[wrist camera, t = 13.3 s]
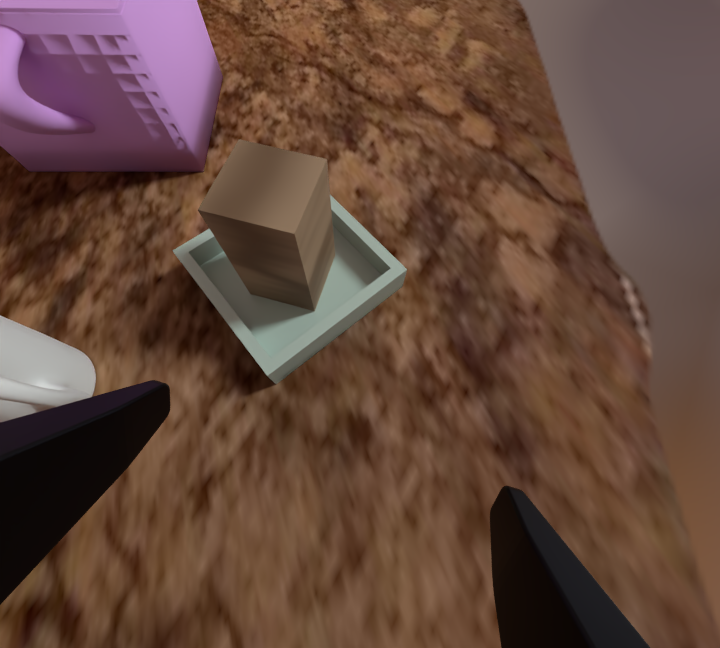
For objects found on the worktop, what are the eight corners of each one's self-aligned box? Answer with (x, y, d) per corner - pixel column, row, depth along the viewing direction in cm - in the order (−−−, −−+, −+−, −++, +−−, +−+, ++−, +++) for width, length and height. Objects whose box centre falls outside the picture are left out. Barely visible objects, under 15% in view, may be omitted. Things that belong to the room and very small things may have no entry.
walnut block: (335, 255, 26) (326, 159, 18) (314, 311, 24) (294, 234, 16) (275, 239, 26) (239, 139, 18) (250, 293, 25) (197, 209, 16)
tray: (402, 286, 26) (407, 269, 23) (276, 384, 23) (267, 376, 20) (309, 194, 29) (306, 171, 27) (188, 269, 26) (172, 250, 24)
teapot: (231, 36, 37) (167, -188, 24) (194, 217, 28) (57, 8, 15) (94, 35, 37) (-47, -194, 24) (10, 217, 28) (-295, 3, 15)
